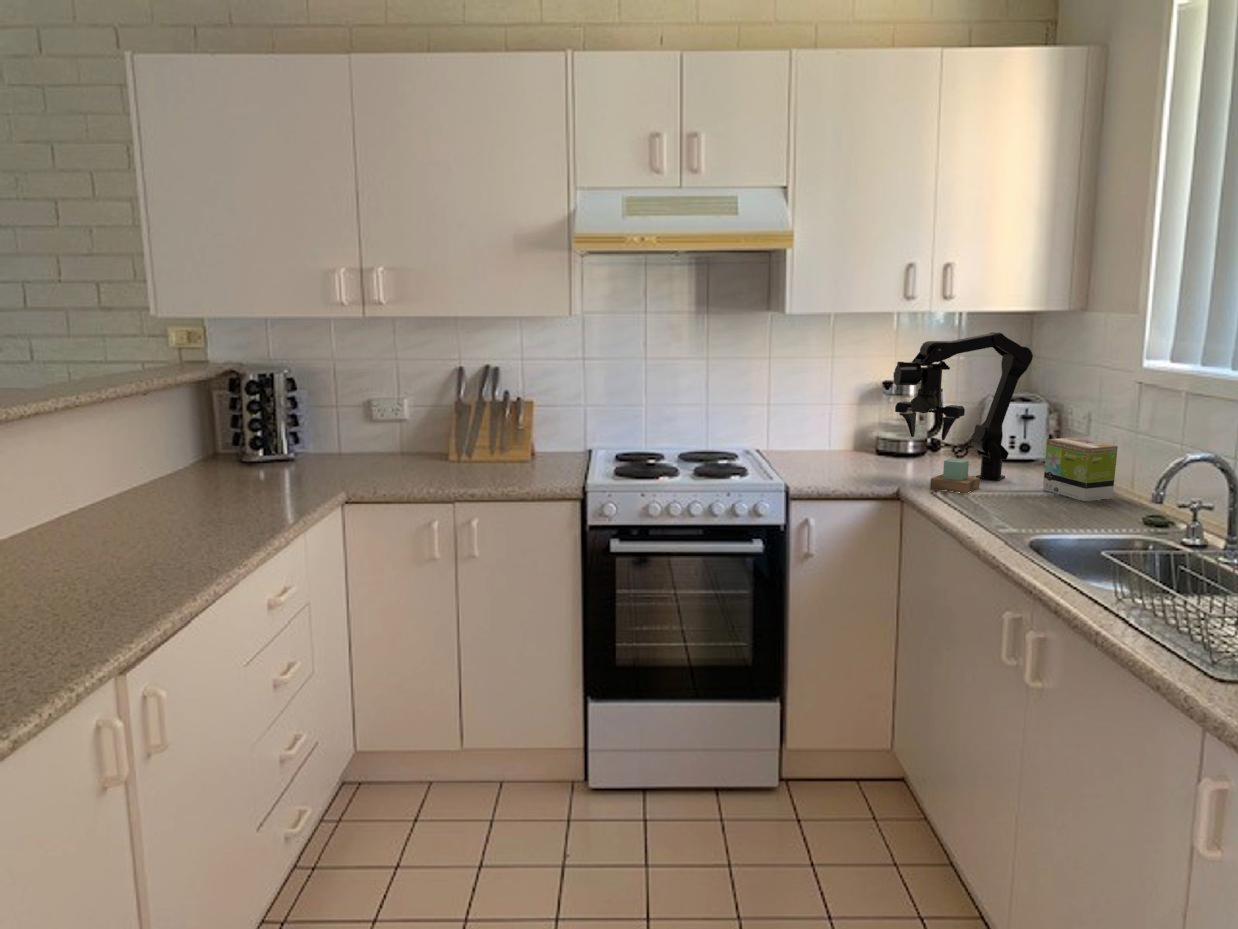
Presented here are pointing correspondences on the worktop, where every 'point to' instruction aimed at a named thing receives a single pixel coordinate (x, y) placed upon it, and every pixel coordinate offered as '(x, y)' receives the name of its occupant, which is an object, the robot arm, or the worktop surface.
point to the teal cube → (955, 469)
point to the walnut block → (955, 484)
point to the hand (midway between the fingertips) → (927, 438)
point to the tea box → (1080, 468)
